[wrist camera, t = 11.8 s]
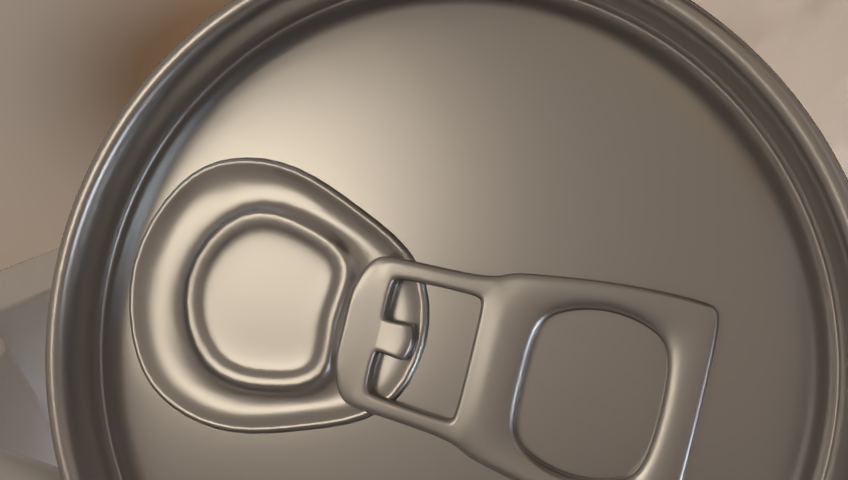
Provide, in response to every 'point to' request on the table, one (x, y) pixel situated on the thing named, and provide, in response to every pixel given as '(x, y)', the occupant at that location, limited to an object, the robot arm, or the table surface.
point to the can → (455, 254)
